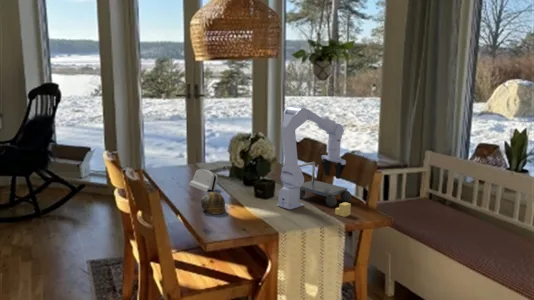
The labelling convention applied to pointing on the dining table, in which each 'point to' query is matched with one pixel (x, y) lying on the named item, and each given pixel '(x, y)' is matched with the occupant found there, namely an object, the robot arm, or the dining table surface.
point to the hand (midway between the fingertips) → (332, 176)
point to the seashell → (213, 203)
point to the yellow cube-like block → (343, 209)
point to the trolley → (324, 189)
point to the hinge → (204, 180)
